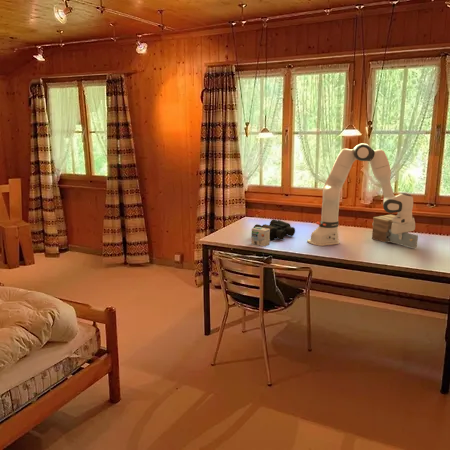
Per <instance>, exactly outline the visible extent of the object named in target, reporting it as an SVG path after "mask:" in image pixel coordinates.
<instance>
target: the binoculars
mask: <svg viewBox="0 0 450 450" xmlns="http://www.w3.org/2000/svg"><path fill="white" fill-rule="evenodd" d="M255 227H261V228H268V229H270V240H271V241H275V240H277V239H279V240H284V239H285V237H286V236H290V237H294V235H295V233H296V228H295V227H294V226H292V225H291V224H290V223H289V222H286V221H283V220H281V219H271V220H270V222H269V224H266V223H265V224H262V225H260V224H258V223H257V224H254V226H253V227H252V228H255Z"/></svg>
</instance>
